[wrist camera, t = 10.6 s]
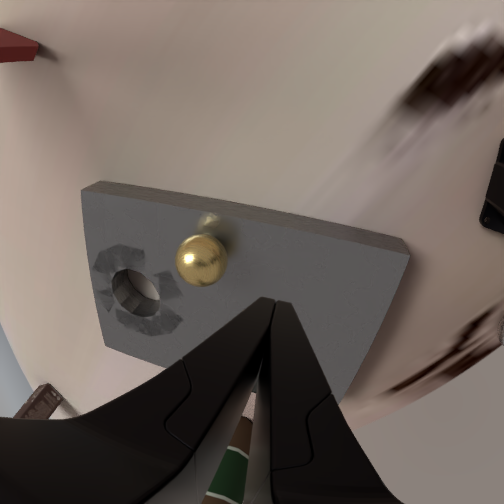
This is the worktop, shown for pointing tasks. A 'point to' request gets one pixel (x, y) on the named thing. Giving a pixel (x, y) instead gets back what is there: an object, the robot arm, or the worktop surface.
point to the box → (40, 403)
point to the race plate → (235, 274)
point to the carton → (16, 47)
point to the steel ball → (501, 331)
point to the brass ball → (201, 260)
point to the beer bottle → (232, 468)
